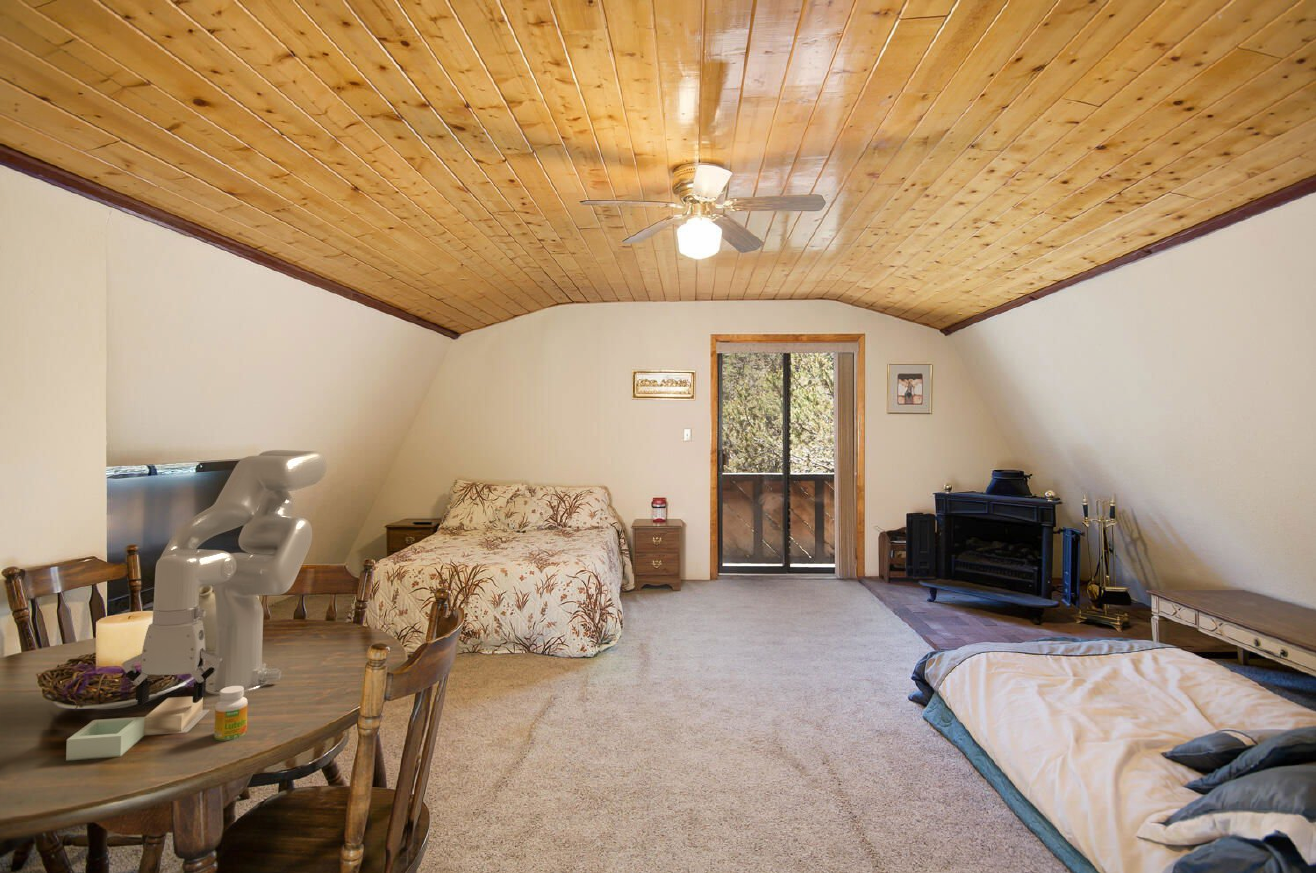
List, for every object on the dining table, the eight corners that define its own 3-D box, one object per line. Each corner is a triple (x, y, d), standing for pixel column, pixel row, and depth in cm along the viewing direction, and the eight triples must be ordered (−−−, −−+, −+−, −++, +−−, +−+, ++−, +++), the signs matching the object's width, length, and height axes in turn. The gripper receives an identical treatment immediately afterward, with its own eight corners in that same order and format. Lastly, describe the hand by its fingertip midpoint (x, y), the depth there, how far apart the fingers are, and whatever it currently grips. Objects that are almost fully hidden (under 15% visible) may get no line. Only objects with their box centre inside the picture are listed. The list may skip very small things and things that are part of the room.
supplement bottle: (222, 747, 128) (224, 696, 128) (208, 739, 131) (210, 690, 131) (252, 737, 133) (253, 688, 133) (238, 729, 135) (239, 682, 135)
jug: (210, 660, 175) (213, 564, 174) (167, 652, 179) (170, 559, 179) (261, 643, 189) (263, 555, 189) (220, 636, 194) (222, 550, 194)
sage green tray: (143, 739, 130) (144, 716, 130) (120, 760, 122) (121, 735, 122) (93, 743, 128) (93, 720, 128) (66, 764, 120) (66, 739, 120)
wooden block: (202, 710, 142) (202, 695, 142) (181, 731, 132) (181, 715, 132) (167, 713, 140) (167, 697, 140) (143, 734, 131) (143, 717, 131)
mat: (210, 713, 143) (210, 709, 143) (187, 736, 132) (187, 732, 132) (161, 716, 141) (161, 712, 141) (134, 739, 130) (134, 735, 130)
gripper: (230, 611, 142) (225, 693, 141) (136, 613, 137) (130, 698, 137) (216, 619, 134) (211, 706, 134) (116, 622, 130) (110, 711, 129)
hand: (170, 701), depth 135 cm, fingers open, 9 cm apart
